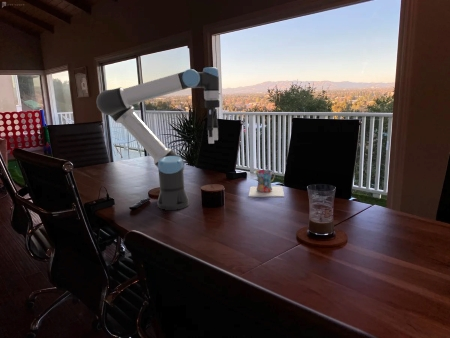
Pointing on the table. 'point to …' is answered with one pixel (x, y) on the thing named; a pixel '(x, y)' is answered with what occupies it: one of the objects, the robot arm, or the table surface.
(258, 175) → the mug
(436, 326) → the table surface
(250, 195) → the placemat
